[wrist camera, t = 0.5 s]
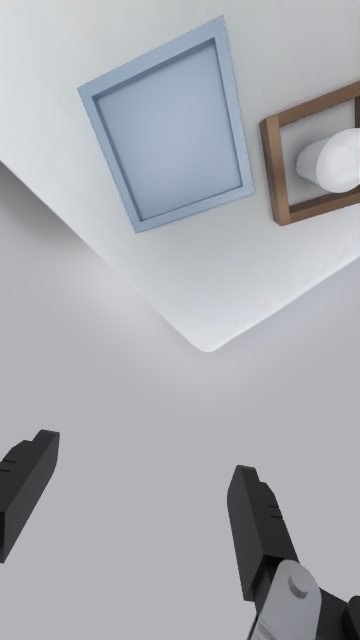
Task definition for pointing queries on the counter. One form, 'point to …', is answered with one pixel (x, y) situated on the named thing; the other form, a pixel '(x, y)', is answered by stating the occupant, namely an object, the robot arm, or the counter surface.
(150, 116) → the tray
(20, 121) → the counter surface
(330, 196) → the holder
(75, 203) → the counter surface
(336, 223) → the counter surface
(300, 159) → the milkshake
